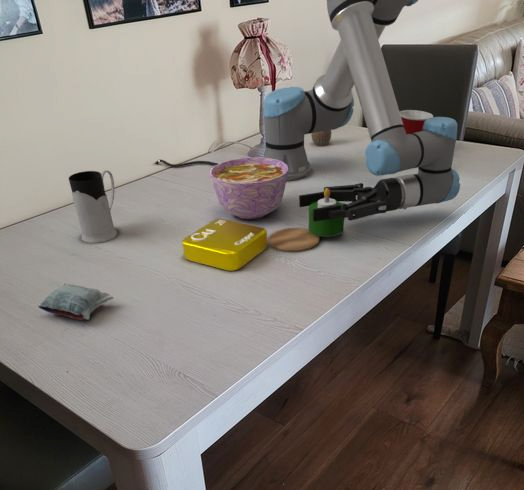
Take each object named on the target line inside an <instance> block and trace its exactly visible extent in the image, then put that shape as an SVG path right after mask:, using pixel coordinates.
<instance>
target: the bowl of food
mask: <svg viewBox="0 0 524 490" xmlns="http://www.w3.org/2000/svg"><path fill="white" fill-rule="evenodd" d="M288 170H289V169H288V165H287V164H285V163H284V162H282V161H279V160H276V159H271V158H263V157H261V156H260V157H258V156H257V157H255V156H250V157H249V156H248V157H239V158H233V159H229V160H225V161H222V162H219V164H218V165H213V167H212V168H210V169H209V177H210V180H211V183H212V186H213V189H214V192H215V194H216V197H217V200H218V203H219V205H220V206H221V207H222V208H223V209H224V211H226V212H227V213H228V214H231V215H233V216H235V217H238V218H240V219H243V220H257V219H261V218H264V217H265V216H267V215H268V214H270V213H272V212H273V211H275V210H276V209H277V208H278V207H279V205H280V204H281V202H282V201H283V197H284V195H285V190H286V185H287V181H286V180H287V176H288Z"/></svg>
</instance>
